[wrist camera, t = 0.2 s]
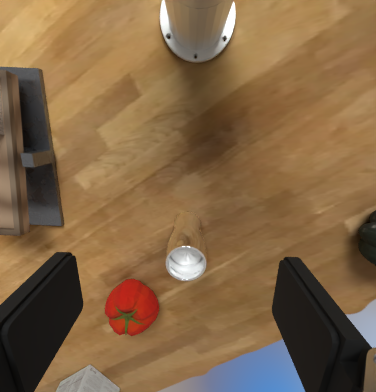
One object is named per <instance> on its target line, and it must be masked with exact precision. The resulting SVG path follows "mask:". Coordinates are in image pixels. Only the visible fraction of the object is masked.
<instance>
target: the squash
mask: <svg viewBox="0 0 376 392" xmlns="http://www.w3.org/2000/svg"><path fill="white" fill-rule="evenodd" d="M359 234H360V236H361V239H360V241H359V250H360V252H361V254H362V255H363V256H364V257H365V258H366V259H367V260H368V261H370V262H371V263H373V264H375V265H376V211H374V212H373V213H372V214H371V216H370V223H366V224H364V225H362V226H361V227H360V228H359Z"/></svg>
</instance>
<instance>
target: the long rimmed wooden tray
mask: <svg viewBox="0 0 376 392" xmlns="http://www.w3.org/2000/svg"><path fill="white" fill-rule="evenodd" d="M0 92H1V102H2V113H3V124H4V135H2V134H0V235H15V236H21V235H23V234H25V233H27V232H30V225H29V212H28V199H27V187H26V174H25V167H23V165H22V159H21V154H20V153H24V149H23V136H22V123H21V111H20V98H19V86H18V76H17V75H15V74H13V73H11V72H9V71H7V70H0Z"/></svg>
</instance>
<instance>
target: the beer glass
mask: <svg viewBox="0 0 376 392" xmlns="http://www.w3.org/2000/svg"><path fill="white" fill-rule="evenodd" d="M174 228H175V230H174V231H173V233H172V235H171V237H170V239H169V242H168V246H167V252H166V268H167V271H168V272H169V274H170V275H171V276H173V277H174V278H176V279H178V280H182V281H191V280H195V279H197V278H198V277H200V276H201V275H202V274H203V273H204V271H205V269H206V244H205V240H204V238H203V235H202V233H201V231H200V228H201V220H200V218H199V217H198V215H196V214H195V213H193V212H188V211H187V212H182V213H180V214H179V215H178V216H177V217H176V218H175V221H174Z"/></svg>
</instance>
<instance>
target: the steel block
mask: <svg viewBox="0 0 376 392" xmlns="http://www.w3.org/2000/svg"><path fill="white" fill-rule="evenodd" d="M0 134H2V135H4V124H3V113H2V102H1V92H0Z"/></svg>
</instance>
